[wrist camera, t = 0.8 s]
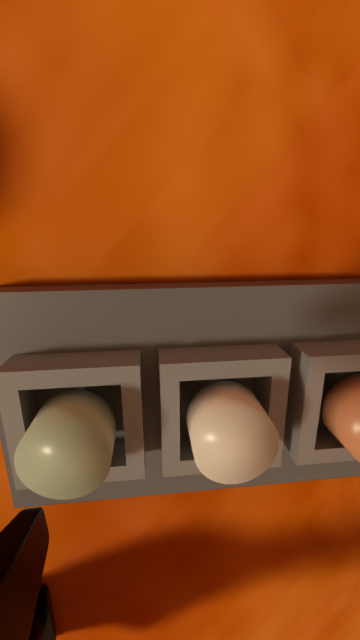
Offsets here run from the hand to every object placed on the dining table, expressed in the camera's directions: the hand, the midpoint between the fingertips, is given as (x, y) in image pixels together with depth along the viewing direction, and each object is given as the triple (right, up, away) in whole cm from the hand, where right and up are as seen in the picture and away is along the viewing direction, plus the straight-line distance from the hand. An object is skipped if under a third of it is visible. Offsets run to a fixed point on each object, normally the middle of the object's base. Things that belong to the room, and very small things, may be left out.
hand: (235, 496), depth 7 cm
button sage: (-7, -1, +9) cm, 11 cm away
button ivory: (+1, -1, +10) cm, 10 cm away
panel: (+1, 0, +13) cm, 13 cm away
